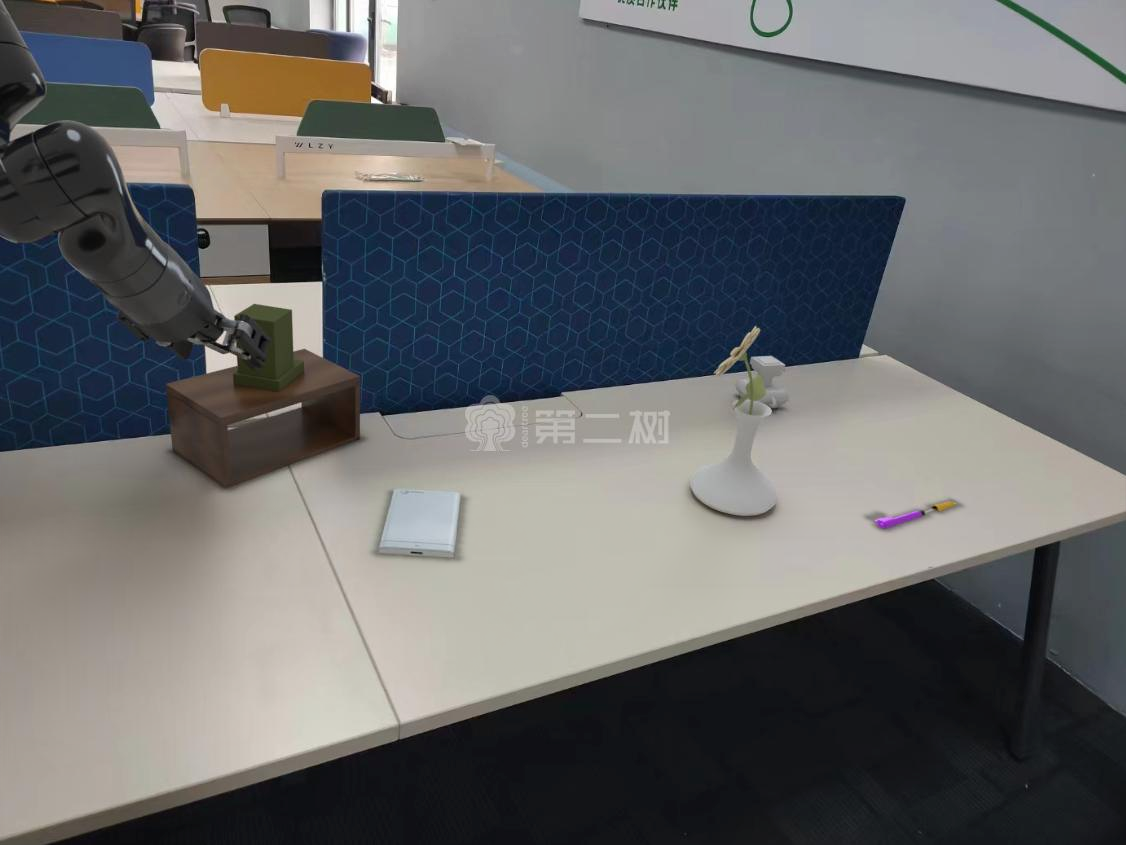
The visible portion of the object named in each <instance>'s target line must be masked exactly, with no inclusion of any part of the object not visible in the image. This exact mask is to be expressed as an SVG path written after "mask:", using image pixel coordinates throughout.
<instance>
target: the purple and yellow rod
mask: <svg viewBox="0 0 1126 845" xmlns="http://www.w3.org/2000/svg"><path fill="white" fill-rule="evenodd" d="M957 504H958V503H956V502H954V501H950V500H949V501H945V502H942V503H937V504H934V505H931V508H932V509H928V510H922V509H921V510H915V511H912V512H909V513H906V514H903V515H899V516H895V517H890V516H886V517H881V518H877V519H874V520H873V521H874V522H875V523H877V527H878V528H880V529H882V530H884V529H885V530H886V529H889V528H892V527H896V526H897V525H900V524H903V523H906V522H909V521H913V520H916V519H919V518H922V517H923V516H925V515H926V514H927V513H930V512H933V511H937V512H938V513H939V512H941V511H944V510H946V509H949V508H952V507H954V506H955V505H957ZM934 507H935V508H934Z"/></svg>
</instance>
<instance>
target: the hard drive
mask: <svg viewBox="0 0 1126 845" xmlns="http://www.w3.org/2000/svg"><path fill="white" fill-rule="evenodd" d="M461 499H462V493H460V492H457V491H446V490H431V489H429V490H428V489H413V488H394V489H393V492H392V495H391V500H390V504H389V507H388V511H387V514H386V519H385V523H384V527H383V530H382V533H381V534H382V535H381V538H380V543H379V547H378V554H386V555H400V556H401V555H403V556H416V557H417V556H418V557H419V556H420V557H433V558H434V557H436V558H449V559H450V558H451V559H454V557H455V550H456V549H455V548H456V541H457V533H458V532H457V531H458V524H459V516H460V508H461Z"/></svg>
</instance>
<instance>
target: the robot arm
mask: <svg viewBox="0 0 1126 845" xmlns="http://www.w3.org/2000/svg"><path fill="white" fill-rule="evenodd" d="M46 94H47V82H46V79H45V77H44V74H43V72H42V70H41V68H40V67H39V64H38V63H37V61H36V59H35V57H34V56H33V54H32V52H31V50H30V48H29V46H28V45H27V43H26V42H25V40H24V38H23V35H22V34H21V32H20V30H19V29H18V27H17V25H16V24H15V22H14V20H13V18H12V16H11V14H10V13H9V11H8V10H7V8H6V6H5V4H4V2H3V0H0V237H1V238H3V239H5V240H7V241H9V242H11V243H15V244H19V245H31V244H32V245H33V244H35V243H39V242H41V241H43V240H46V239H48V238H51V237H52V236H55V235H57V234H58V236H57V243H58V247H59V251H60V252H61V254H62V256H63V258H64V260H66V262H67V263H68V264H69V265H70V266H71V267H72V268H73V269H74V270H75V271H77V272H78V273H79V274H80V275H81V276H82V277H83V278H84V279H86V280H87V281H88V282H89V283H90V284H91V285H92V286H93V287H95V289H97V290H98V291H99V292H100V294H101V295H102V297H103V298H104V299H105V300H106V301H107V302H108V303H109V305H110V306H112V307H113V308H114V309H115V310H117V314H116V319H117V321H119V323H121V325H123V326H124V328H126V329H127V330H128V331H129V332H130V333H131V334H132V335H133V336H134V337H136V338H137V339H138V340H139V341H141V342H145V343H148V342H150V339H151V340H153V341H155V344H156V345H158V346H159V347H163V348H164V347H165V348H167V349H168V350H169V351H170V352H172V353H173V354H174V355H175V356H176V357H177V358H178V359H180V360H184V361H187V360H188V359H189V358H190V356H191V352H192V350H193V347H194V345H196V346H204V347H206V348H208V349H210V350H213V351H215V352H217V353H219V354H222V355H227V354H232V355H234V356H236V357H237V356H238V357H240V358H241V359H242V360H243V361H244V362H245V364H246V365H247V366H248V367H249V368H250V369H251V370H252V371H260V369H261V368H263V366H264V363H265V360H266V353H267V349H268V346H269V343H270V340H271V338H270V337H269V336H268V335H267V334H266V333H265V332H264V331H263V330H262V329H261V328H260V327H259V326H258V325H257V323H256V322H255V321H254V320H253V319H252V318H251V317H250V316H248V315H245V314H240V315H239V318H238V321H235V320H234V319H230V318H228V317H226V316H225V315H224V314H222V313H221V312H219V311H218V310H217V309H215V307H214V304H213V299H212V296H211V293H210V291H209V289H208V287H207V286H206V285H205V283H204V282H203V281H202V279H200V277H199V276H198V275H197V274H196V273H195V271H193V269H191V267H190V266H189V265H188V263H186V261H185V260H184V259H183V258H182V256H180V255H179V254H178V252H177V251H176V250H175V249H174V248H172V246H170V245H169V244H168V243H167V242H165V241H164V240H162V238H161V237H160V236H159V235H158V233H156V231H155V230H153V228H152V227H151V226H150V225H149V224H148V223H147V221H146V220H145V219H144V218H143V217H142V215H141V214H140V212H139V211H138V209H137V207H136V205H135V204H134V202H133V199H132V197H131V195H130V192H129V188H128V185H127V182H126V179H125V175H124V173H123V169H122V167H121V165H120V162H119V159H118V158H117V155H116V153H115V151H114V149H113V147H112V146H111V145H110V143H109V142H108V141H107V139H106V138H105V137H104V136H103V135H102V134H101V133H99V132H98V131H97V130H96V129H95V128H92V127H91V126H89V125H87V124H84V123H82V122H79V121H77V120H70V119H64V120H63V119H62V120H58V121H54V122H52V123H48V124H46V125H44V126H42V127H40V128H37V129H35V130H34V131H30V132H28V133H26V134H23V135H21V136H18V137H17V138H14V139H12V140H11V135H12V132H13V130H14V129H15V127H16V126H17V125H18V124H19V123H20V122H21V121H22V120H23V119H25V117H26V116H28V115H29V114H30V113H32V112H33V111H34V110H35V109H36V108H37V107H39V105H40V104H41V103H42V102H43V100H44V99H45V97H46ZM224 332H225V335H224V337H223V340H222V343H220V342H217V341H218V340H219V339H220V337H222V335H223V334H224ZM236 342H238V343H239V344H240V345H241V346H242V349H239V348H237V347H236Z"/></svg>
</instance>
